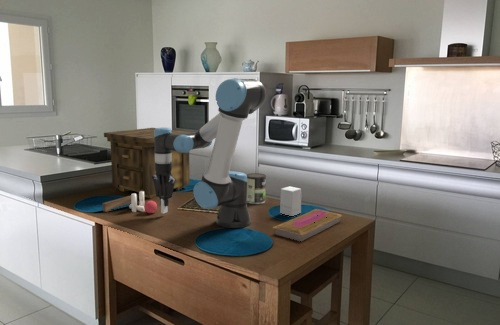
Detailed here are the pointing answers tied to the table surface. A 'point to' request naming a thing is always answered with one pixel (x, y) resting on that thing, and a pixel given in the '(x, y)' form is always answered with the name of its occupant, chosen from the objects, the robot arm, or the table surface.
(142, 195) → the pin
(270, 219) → the table surface
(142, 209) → the front pin
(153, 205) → the ball
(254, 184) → the coffee can
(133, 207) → the pin
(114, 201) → the backstop
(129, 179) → the wooden drawer cabinet
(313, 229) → the pink-striped wooden board
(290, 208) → the supplement box
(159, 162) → the robot arm
